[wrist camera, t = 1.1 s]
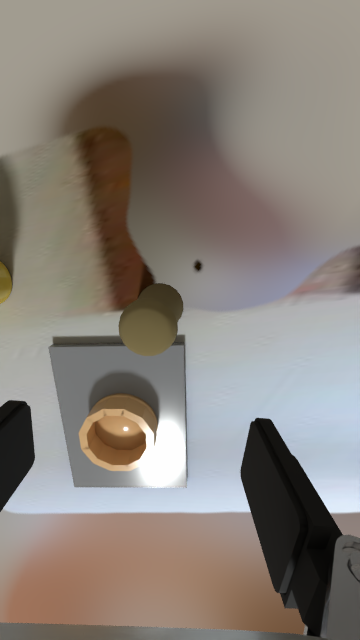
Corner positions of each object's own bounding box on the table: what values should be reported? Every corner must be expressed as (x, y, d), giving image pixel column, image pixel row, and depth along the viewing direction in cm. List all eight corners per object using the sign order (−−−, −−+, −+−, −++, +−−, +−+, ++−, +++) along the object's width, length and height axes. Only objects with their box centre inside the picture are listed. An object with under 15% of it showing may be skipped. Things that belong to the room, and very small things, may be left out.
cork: (127, 307, 29) (93, 334, 18) (158, 273, 28) (141, 280, 17) (161, 337, 30) (148, 380, 19) (193, 305, 29) (197, 332, 18)
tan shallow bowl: (156, 392, 31) (152, 408, 28) (159, 451, 33) (156, 471, 30) (85, 393, 31) (73, 408, 28) (93, 451, 34) (84, 471, 30)
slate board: (183, 342, 30) (183, 345, 29) (186, 481, 36) (186, 487, 35) (52, 344, 30) (48, 347, 29) (77, 481, 36) (74, 487, 36)
